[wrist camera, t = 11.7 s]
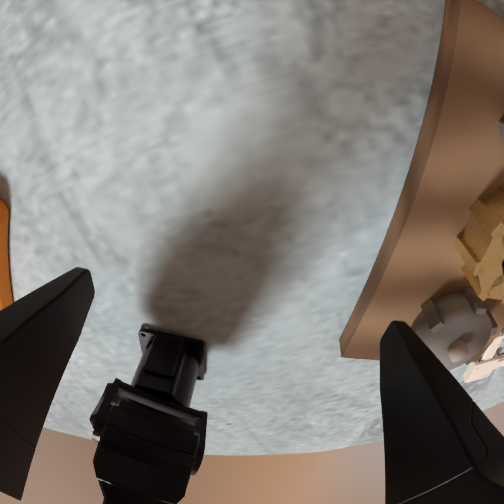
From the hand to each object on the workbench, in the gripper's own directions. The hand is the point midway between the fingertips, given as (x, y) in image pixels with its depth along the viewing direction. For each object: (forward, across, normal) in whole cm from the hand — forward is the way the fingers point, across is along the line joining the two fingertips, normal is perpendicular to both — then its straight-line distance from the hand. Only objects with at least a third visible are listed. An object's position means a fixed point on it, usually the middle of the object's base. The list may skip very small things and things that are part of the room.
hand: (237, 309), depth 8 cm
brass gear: (+10, -17, 0) cm, 20 cm away
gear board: (+12, -17, 0) cm, 21 cm away
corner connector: (+13, -31, +14) cm, 36 cm away
